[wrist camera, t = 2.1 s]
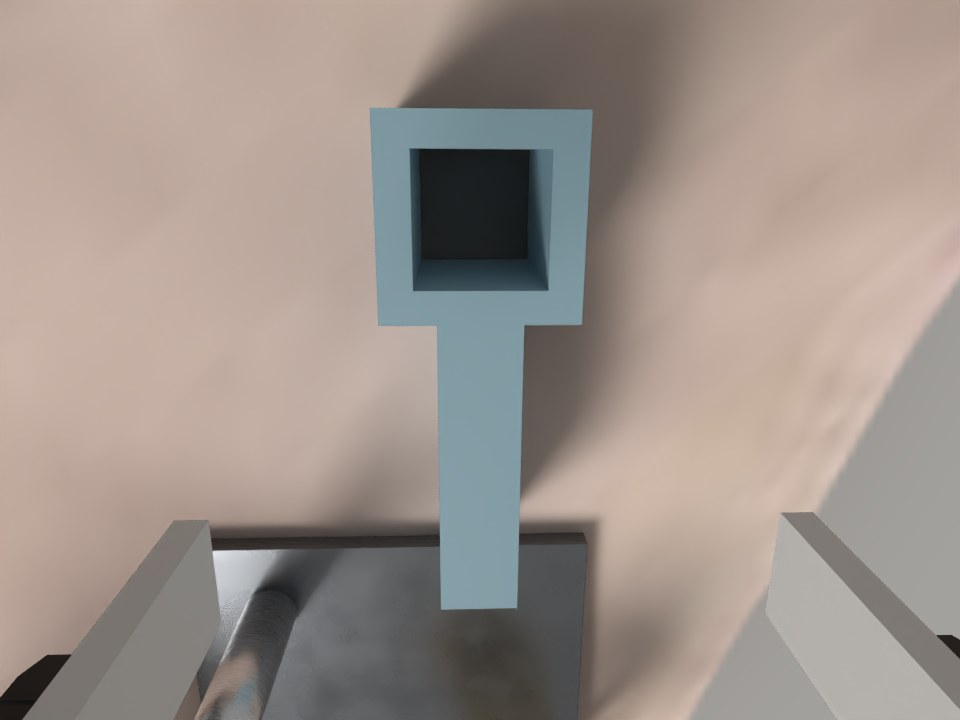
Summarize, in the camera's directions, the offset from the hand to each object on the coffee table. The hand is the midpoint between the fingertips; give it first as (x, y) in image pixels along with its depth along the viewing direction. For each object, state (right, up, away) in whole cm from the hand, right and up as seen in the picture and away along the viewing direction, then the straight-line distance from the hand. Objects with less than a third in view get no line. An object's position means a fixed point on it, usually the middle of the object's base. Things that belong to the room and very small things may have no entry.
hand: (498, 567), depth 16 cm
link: (-1, +6, +15) cm, 16 cm away
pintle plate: (-5, -13, +21) cm, 25 cm away
